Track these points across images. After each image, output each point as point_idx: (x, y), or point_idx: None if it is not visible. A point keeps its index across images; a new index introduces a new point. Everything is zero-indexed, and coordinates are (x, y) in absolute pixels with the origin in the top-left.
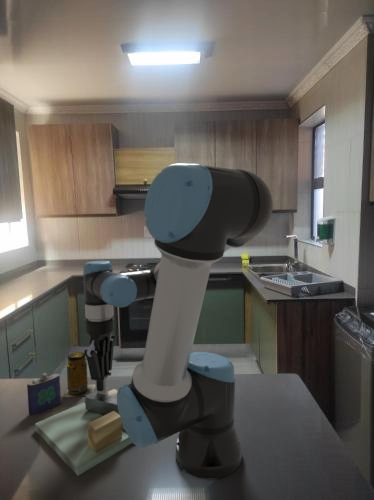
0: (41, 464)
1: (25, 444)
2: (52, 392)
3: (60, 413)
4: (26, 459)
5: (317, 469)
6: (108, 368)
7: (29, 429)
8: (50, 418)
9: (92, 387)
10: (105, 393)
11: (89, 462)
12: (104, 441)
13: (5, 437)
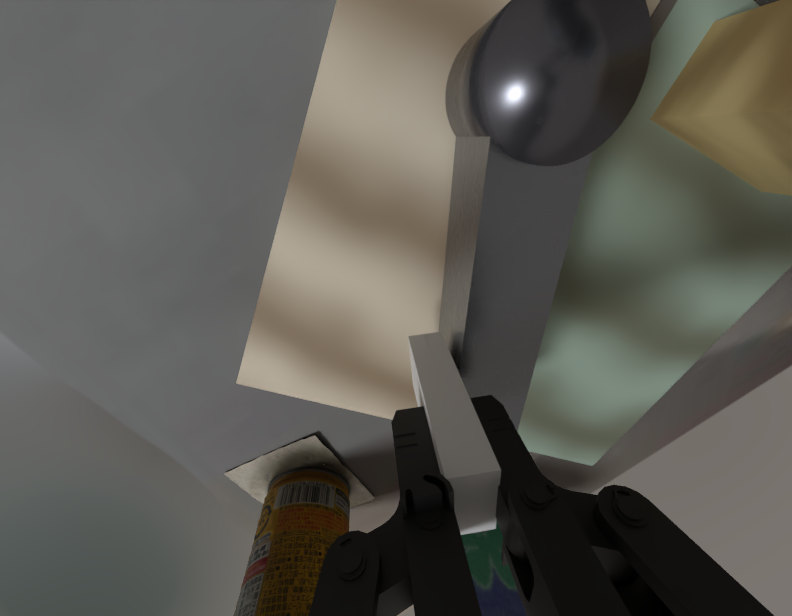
0: (747, 317)
1: (642, 421)
2: (465, 550)
3: None
4: (715, 372)
5: None
6: (421, 582)
7: None
8: (559, 449)
9: (256, 469)
10: (455, 366)
11: None
12: None
13: (610, 479)
